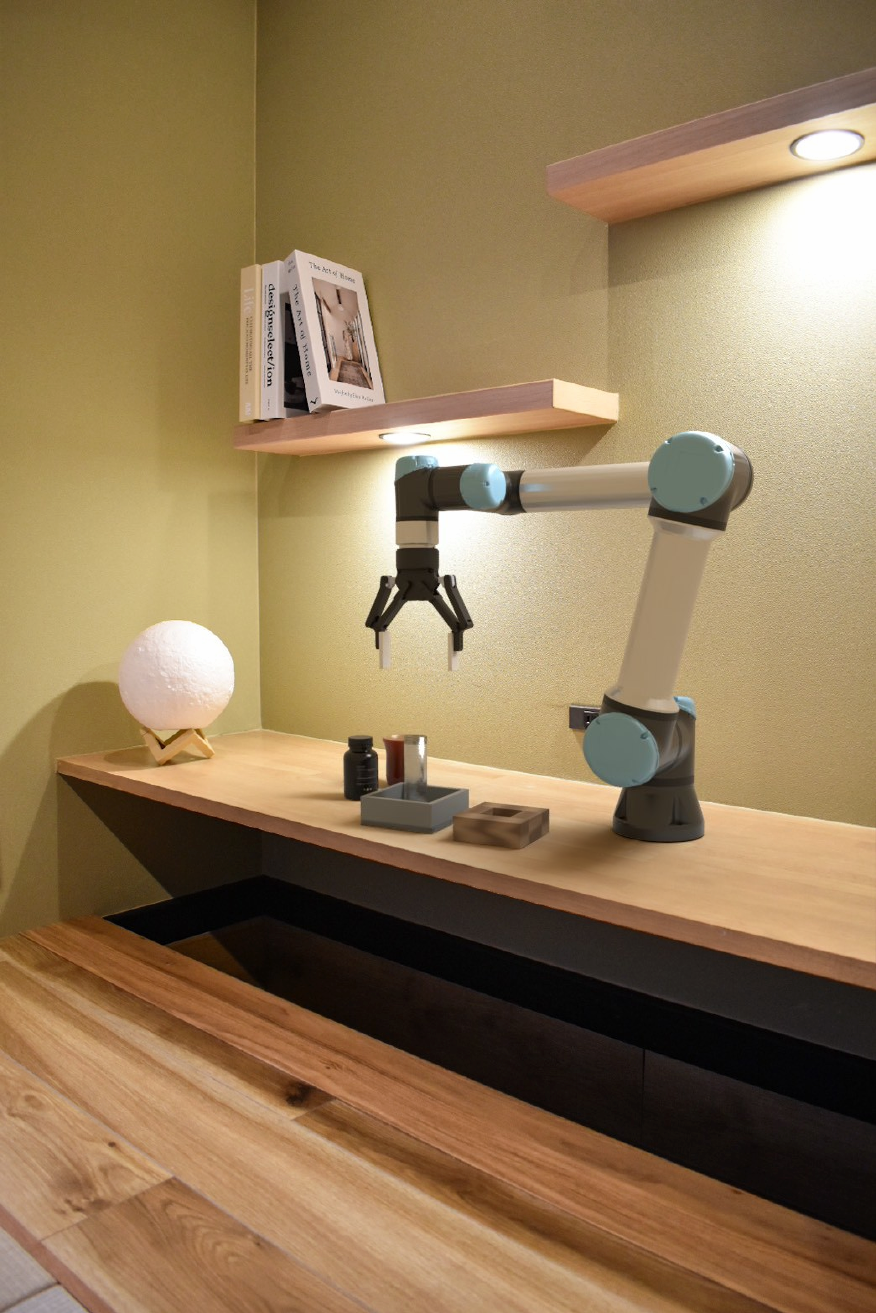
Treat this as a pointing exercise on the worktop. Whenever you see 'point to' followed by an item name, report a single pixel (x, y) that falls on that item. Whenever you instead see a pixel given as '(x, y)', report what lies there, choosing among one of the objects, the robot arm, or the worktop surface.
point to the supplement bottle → (360, 767)
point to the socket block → (501, 824)
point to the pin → (415, 768)
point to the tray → (413, 808)
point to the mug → (394, 758)
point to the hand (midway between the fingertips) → (418, 669)
